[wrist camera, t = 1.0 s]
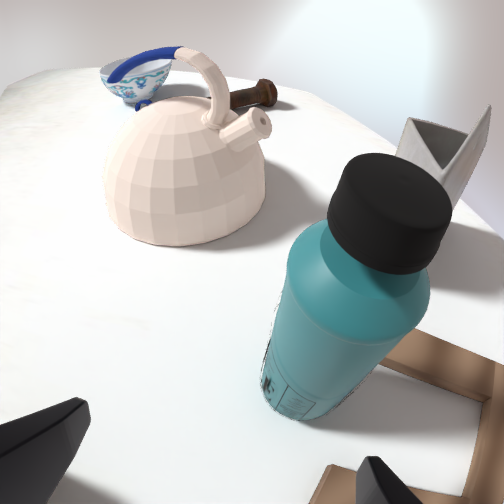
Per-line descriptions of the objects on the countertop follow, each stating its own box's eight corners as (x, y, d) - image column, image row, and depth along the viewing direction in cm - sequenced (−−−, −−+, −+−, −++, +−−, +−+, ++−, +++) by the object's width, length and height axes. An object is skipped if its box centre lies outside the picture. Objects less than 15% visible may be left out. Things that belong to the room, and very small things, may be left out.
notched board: (514, 378, 24) (522, 372, 23) (479, 542, 13) (489, 542, 12) (379, 324, 28) (385, 316, 27) (305, 510, 18) (309, 511, 16)
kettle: (219, 278, 31) (217, 93, 18) (75, 213, 36) (34, 78, 22) (290, 170, 44) (310, 43, 30) (167, 136, 48) (159, 28, 35)
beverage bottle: (351, 403, 23) (518, 225, 8) (278, 441, 21) (404, 299, 6) (312, 340, 27) (402, 123, 12) (242, 370, 25) (264, 138, 10)
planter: (403, 189, 43) (447, 68, 28) (446, 222, 39) (504, 100, 24) (335, 237, 36) (384, 69, 21) (389, 282, 32) (473, 115, 17)
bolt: (196, 126, 55) (266, 108, 60) (207, 123, 50) (280, 104, 56) (188, 96, 52) (259, 80, 58) (198, 90, 48) (273, 75, 54)
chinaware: (143, 81, 66) (141, 52, 61) (187, 91, 61) (187, 58, 56) (91, 104, 58) (86, 72, 52) (131, 117, 53) (126, 79, 47)
